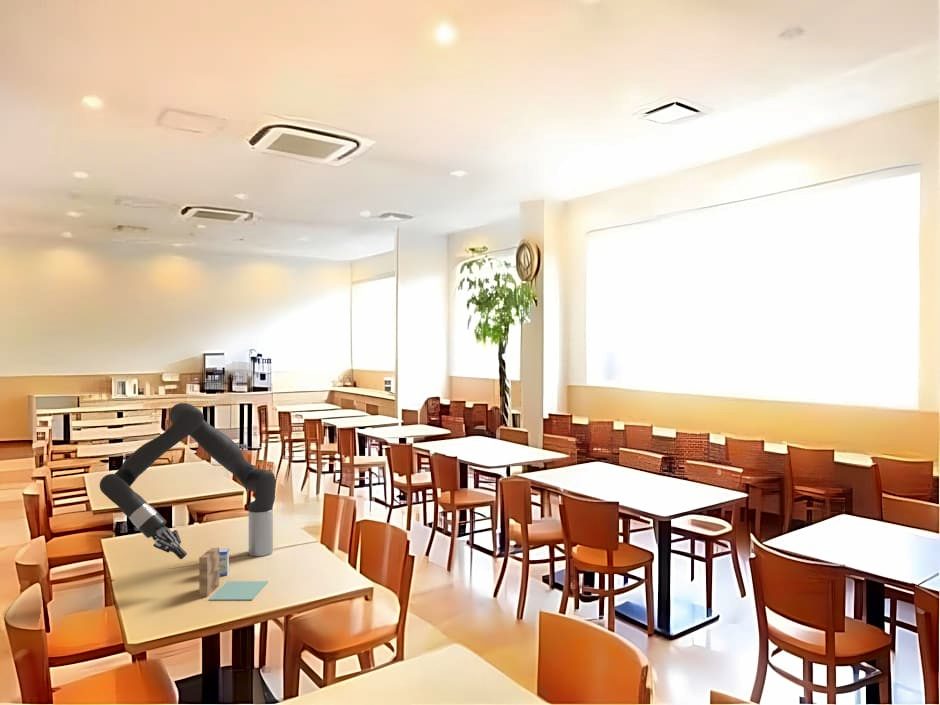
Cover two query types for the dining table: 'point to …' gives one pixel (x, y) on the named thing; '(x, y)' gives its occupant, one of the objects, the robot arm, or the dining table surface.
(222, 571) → the medicine box
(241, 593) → the mat
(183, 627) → the dining table surface
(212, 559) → the wooden block
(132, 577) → the dining table surface
